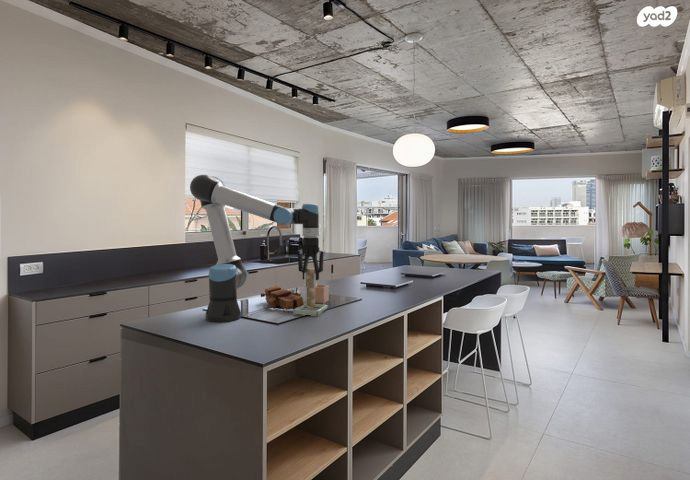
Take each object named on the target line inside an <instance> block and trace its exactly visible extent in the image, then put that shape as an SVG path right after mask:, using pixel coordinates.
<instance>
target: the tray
mask: <svg viewBox="0 0 690 480" xmlns="http://www.w3.org/2000/svg"><path fill="white" fill-rule="evenodd" d="M328 307H329V305H328V304H320V303H315V307H314V308H319V309H317V310H315V309H304V308H308V307H307V303H304V305H302V306H300V307H297V308H296V307H294V309H292V315H293V314H308V315H311V316H310V317H320V316H321V315H322V314H323V313H325V312H326V311H325V310H327V309H328Z"/></svg>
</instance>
